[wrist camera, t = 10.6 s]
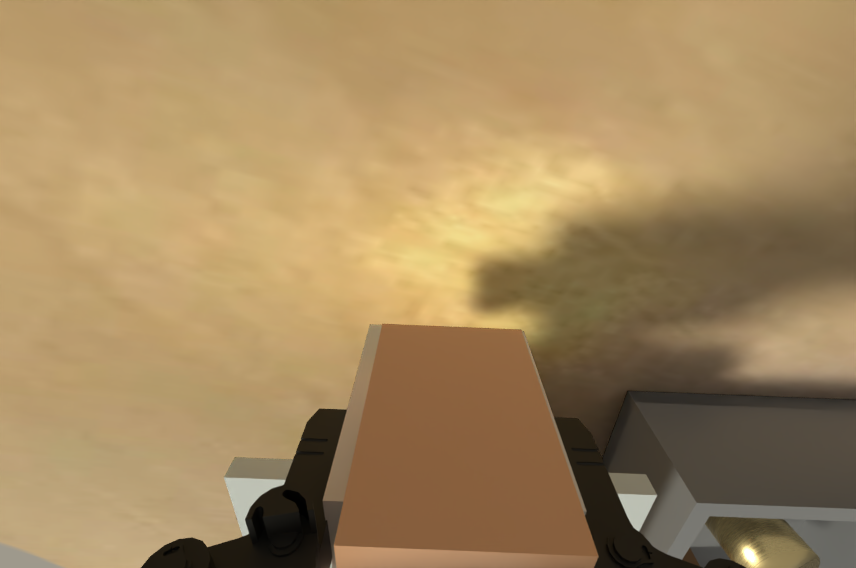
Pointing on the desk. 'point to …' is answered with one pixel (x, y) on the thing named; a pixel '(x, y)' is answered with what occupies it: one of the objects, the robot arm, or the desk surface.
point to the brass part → (762, 543)
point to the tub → (741, 467)
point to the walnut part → (690, 557)
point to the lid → (454, 462)
